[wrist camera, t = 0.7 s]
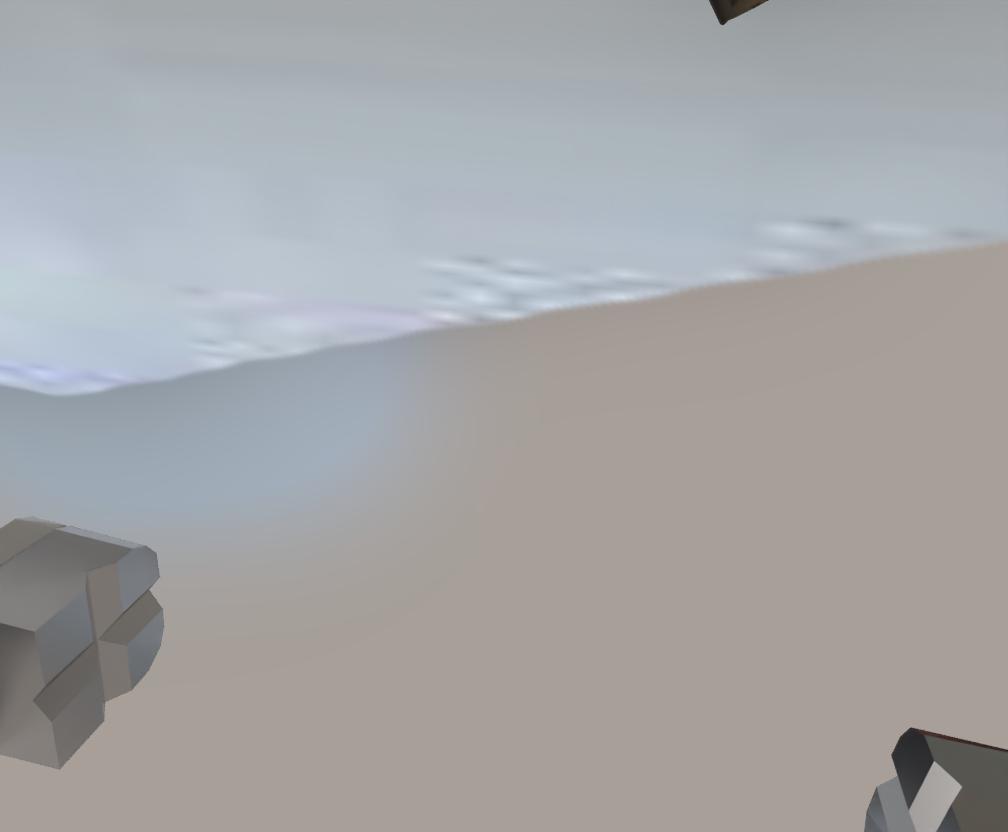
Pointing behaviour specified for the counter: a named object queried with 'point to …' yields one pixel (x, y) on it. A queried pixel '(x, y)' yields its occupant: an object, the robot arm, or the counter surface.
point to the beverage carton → (732, 8)
